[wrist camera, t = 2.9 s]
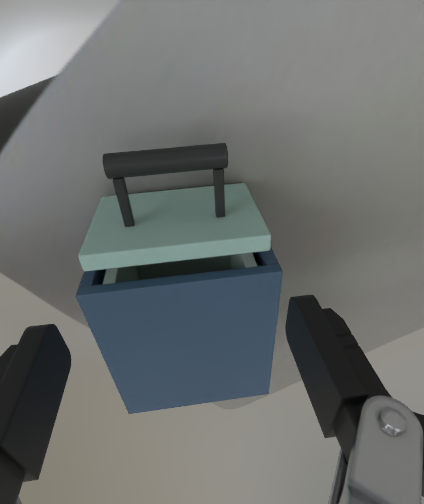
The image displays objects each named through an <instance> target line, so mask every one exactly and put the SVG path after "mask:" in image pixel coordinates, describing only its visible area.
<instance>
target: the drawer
mask: <svg viewBox="0 0 424 504" xmlns="http://www.w3.org/2000/svg"><path fill="white" fill-rule="evenodd" d="M227 166H228V152H227V146H226V144H225V143H219V144H208V145H197V146H186V147H175V148H164V149H152V150H141V151H130V152H119V153H108V154H104V155H103V167H104V171H105V174H106V176H107V178H108V179H113V184H114V188H115V191H116V196H106V197H101V200H100V202H99V205H98V207H97V210H96V212H95V215H94V217H93V220H92V222H91V225H90V227H89V230H88V232H87V235H86V237H85V240H84V242H83V245H82V247H81V250H80V252H79V255H78V258H79V260H80V263H81V265H82V268H83V270H84V271H94V270H103V269H106V273H105V277H104V281H103V284H111V283H120V282H128V281H137V280H145V279H154V278H162V277H171V276H180V275H188V274H197V273H205V272H214V271H222V270H231V269H240V268H248V267H257V264H256V261H255V259H254V256H253V253H252V252H261V251H269V250H270V246H271V233H270V231H269V230H268V228H267V226H266V224H265V222H264V220H263V218H262V216H261V214H260V212H259V210H258V208H257V206H256V204H255V202H254V200H253V198H252V196H251V194H250V192H249V190H248V188H247V186H246V184H245V183H238V184H228V185H224V169H223V168H227ZM208 169H213V177H214V186H207V187H197V188H187V189H177V190H167V191H157V192H146V193H136V194H128V192H127V188H126V184H125V179H124V177H135V176H145V175H156V174H166V173H177V172H187V171H198V170H208Z"/></svg>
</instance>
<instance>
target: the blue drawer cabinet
mask: <svg viewBox="0 0 424 504" xmlns="http://www.w3.org/2000/svg"><path fill="white" fill-rule="evenodd" d="M252 253H253V256H254V259H255V261H256V264H257V267H248V268H240V269H231V270H222V271H214V272H205V273H197V274H188V275H180V276H171V277H162V278H154V279H145V280H137V281H128V282H120V283H111V284H103V281H104V277H105V273H106V269H103V270H94V271H84V274H83V276H82V279H81V282H80V285H79V288H78V291H77V293H76V298H77V300H78V302H79V305H80V307H81V309H82V311H83V313H84V316H85V318H86V320H87V322H88V325H89V327H90V329H91V331H92V333H93V335H94V338H95V340H96V342H97V344H98V347H99V349H100V351H101V353H102V356H103V358H104V360H105V362H106V364H107V366H108V369H109V371H110V373H111V375H112V378H113V380H114V382H115V384H116V386H117V388H118V390H119V393H120V395H121V398H122V400H123V402H124V404H125V406H126V409H127V411H128V413H129V414H132V413H139V412H145V411H153V410H160V409H167V408H174V407H181V406H188V405H194V404H201V403H208V402H215V401H222V400H229V399H236V398H243V397H250V396H257V395H264V394H269V385H270V377H271V368H272V359H273V351H274V342H275V333H276V325H277V316H278V307H279V298H280V290H281V281H282V272H283V271H282V269H281V267H280V265H279V263H278V261H277V259H276V257H275V255H274V253H273V251H272V249H271V246H270V250H269V251H261V252H252Z"/></svg>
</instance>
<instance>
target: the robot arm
mask: <svg viewBox="0 0 424 504" xmlns="http://www.w3.org/2000/svg"><path fill="white" fill-rule="evenodd" d="M286 336H287V340H288V343H289V346H290V349H291V351H292V354H293V356H294V359H295V362H296V364H297V367H298V369H299V372H300V375H301V377H302V380H303V382H304V385H305V388H306V390H307V393H308V395H309V398H310V401H311V403H312V406H313V408H314V411H315V414H316V416H317V419H318V421H319V424H320V426H321V429H322V432H323V434H324V437H325V438H329V437H335V436H336V437H337V440H338V442H339V444H340V447H341V450H340V453H339V458H338V463H337V467H336V472H335V476H334V481H333V485H332V489H331V494H330V498H329V503H328V504H421V496H423V497H424V415H421V414H418V413H415V412H412V411H411V410H410V409H409V408H408V407H407V406H405V405H404V404H403V403H401V402H400V401H398V400H396V399H394V398H392V397H391V395H390V394H389V393H388V392H387V390H386V389H385V387H384V386H383V384H382V383H381V381H380V379H379V377H378V376H377V374H376V372H375V371H374V369H373V368H372V366H371V364H370V363H369V361H368V359H367V358H366V356H365V354H364V353H363V351H362V349H361V348H360V346H358V343H357V341H356V339H355V338H354V336H353V335H351V331H350V330H349V328H348V326H347V325H346V323H345V321H344V320H343V319H342V318H341V317H340V316H339V315H338V314H337V313H335V312H334V311H333V310H332V309H331V308H327V309H322V308H321V306H320V305H319V303H318V301H317V299H316V298H315V296H314V295H305V296H297V297H291V298H290V301H289V307H288V313H287V320H286ZM70 367H71V355H70V351H69V349H68V347H67V345H66V343H65V341H64V340H63V338H62V336H61V334H60V332H59V330H58V328H57V327H56V326H55V325H54V324H48V325H39V326H30V327H28V328H26V330H25V331H24V333H23V335H22V337H21V339H20V341H19V343H18V345H11V346H10V347H9V348H8V349H7V350H6V351H5V352H4V353H3V354H2V356H1V357H0V504H22V503H21V501H20V498H19V497H18V495H19V492H20V489H21V486H22V482H25V481H32V480H38V479H39V475H40V472H41V468H42V465H43V461H44V458H45V454H46V451H47V447H48V444H49V441H50V437H51V434H52V430H53V427H54V423H55V420H56V416H57V413H58V409H59V406H60V403H61V399H62V396H63V392H64V388H65V385H66V381H67V378H68V375H69V371H70Z"/></svg>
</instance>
